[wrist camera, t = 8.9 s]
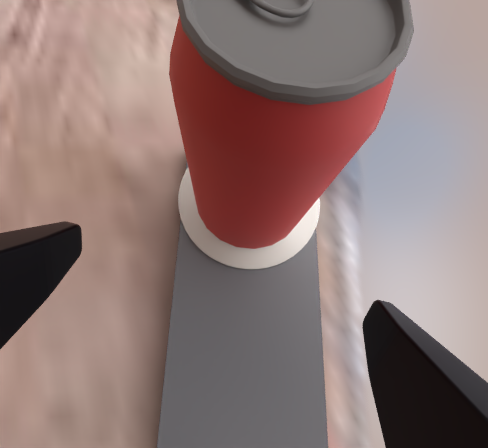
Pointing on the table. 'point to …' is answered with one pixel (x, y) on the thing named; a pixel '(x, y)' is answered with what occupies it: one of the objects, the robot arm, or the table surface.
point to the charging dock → (244, 341)
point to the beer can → (278, 102)
